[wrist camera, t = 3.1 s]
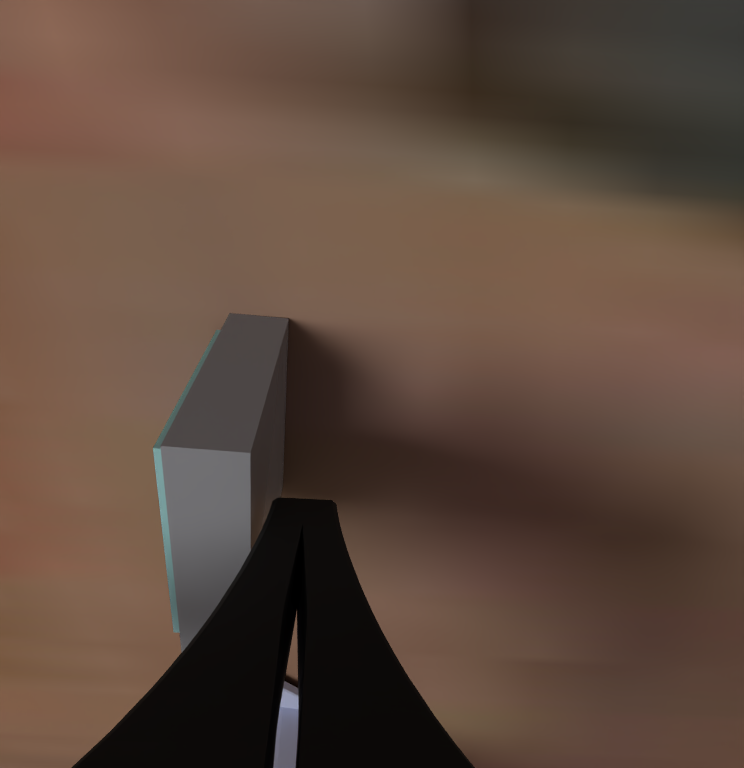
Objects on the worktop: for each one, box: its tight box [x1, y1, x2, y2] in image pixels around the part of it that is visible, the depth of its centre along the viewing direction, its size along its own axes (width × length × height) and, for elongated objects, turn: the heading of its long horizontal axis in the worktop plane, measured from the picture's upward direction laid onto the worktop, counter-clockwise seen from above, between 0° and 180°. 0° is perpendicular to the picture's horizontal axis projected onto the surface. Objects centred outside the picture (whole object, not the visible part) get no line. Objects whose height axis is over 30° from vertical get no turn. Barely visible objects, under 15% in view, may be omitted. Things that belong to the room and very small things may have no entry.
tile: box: [153, 313, 289, 652], centre depth 14 cm, size 2×6×6 cm, turn 174°
